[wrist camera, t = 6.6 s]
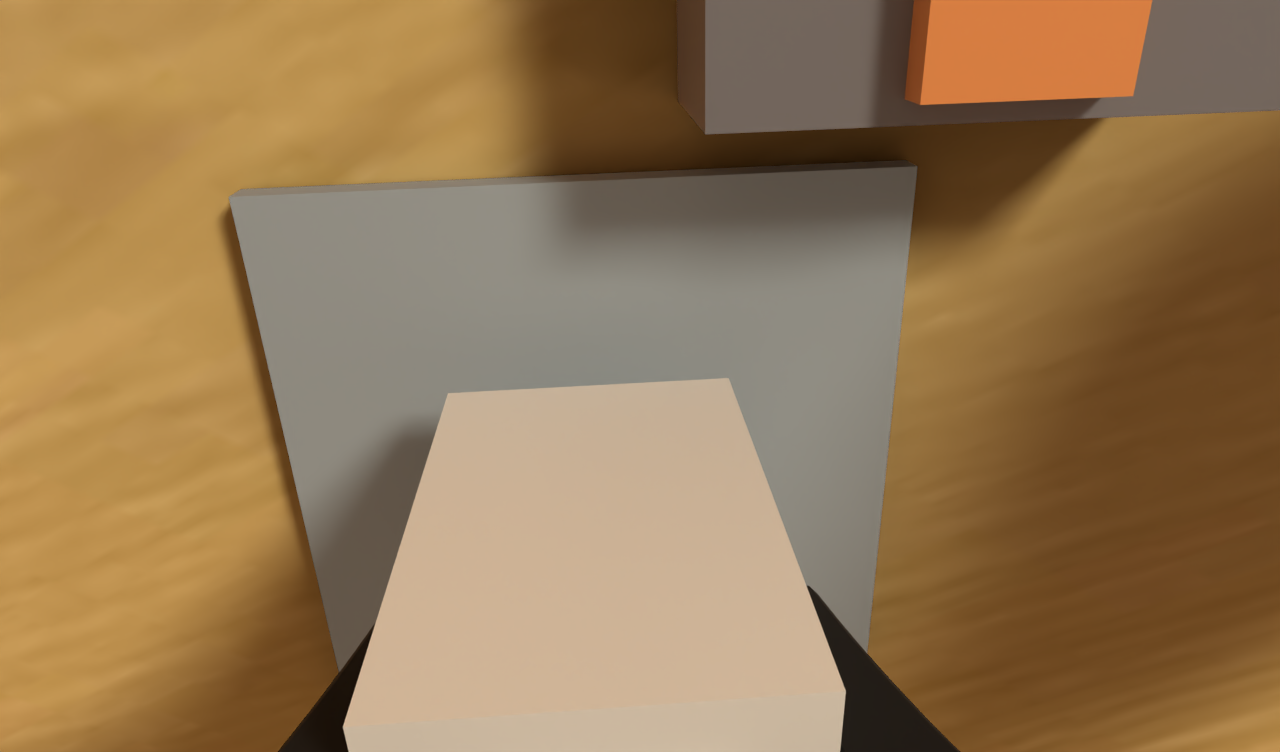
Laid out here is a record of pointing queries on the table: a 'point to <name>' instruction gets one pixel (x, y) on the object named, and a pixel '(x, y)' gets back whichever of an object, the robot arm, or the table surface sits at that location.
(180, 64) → the table surface
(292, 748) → the robot arm
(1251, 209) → the table surface
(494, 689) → the block
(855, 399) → the mat
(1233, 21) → the power strip
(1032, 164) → the table surface
